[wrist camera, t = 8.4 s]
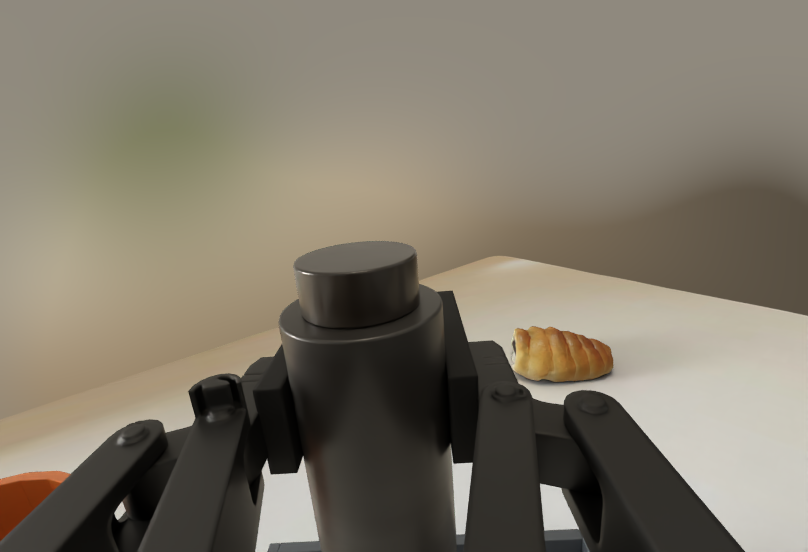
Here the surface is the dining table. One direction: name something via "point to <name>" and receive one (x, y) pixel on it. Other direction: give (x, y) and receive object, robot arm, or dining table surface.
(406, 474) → the pepper mill
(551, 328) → the pastry
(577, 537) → the tray
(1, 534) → the pot
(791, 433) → the dining table surface
